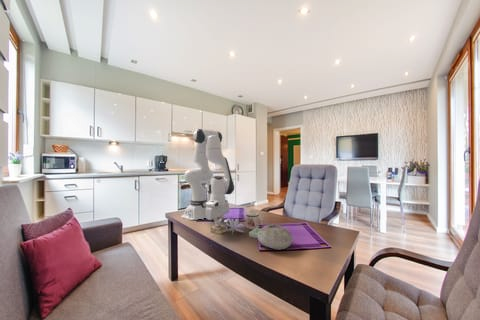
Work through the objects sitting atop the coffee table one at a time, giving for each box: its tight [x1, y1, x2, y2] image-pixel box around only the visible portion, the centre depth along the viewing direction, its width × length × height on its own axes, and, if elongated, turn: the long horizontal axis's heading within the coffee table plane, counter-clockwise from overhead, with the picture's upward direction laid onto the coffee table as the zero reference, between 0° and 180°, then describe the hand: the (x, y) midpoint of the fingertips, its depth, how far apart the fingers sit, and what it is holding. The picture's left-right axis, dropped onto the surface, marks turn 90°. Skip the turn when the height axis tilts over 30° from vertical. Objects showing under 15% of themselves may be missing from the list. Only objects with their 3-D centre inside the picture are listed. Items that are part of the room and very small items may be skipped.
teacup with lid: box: [245, 209, 263, 230], centre depth 132 cm, size 12×9×12 cm
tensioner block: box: [210, 224, 227, 235], centre depth 125 cm, size 7×7×3 cm
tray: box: [248, 227, 261, 239], centre depth 117 cm, size 9×9×2 cm
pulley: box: [223, 218, 235, 229], centre depth 133 cm, size 7×7×5 cm
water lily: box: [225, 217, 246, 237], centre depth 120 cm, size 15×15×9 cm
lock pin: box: [217, 216, 221, 228], centre depth 125 cm, size 4×4×10 cm
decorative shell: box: [257, 223, 293, 251], centre depth 102 cm, size 18×18×10 cm
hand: (218, 223), depth 125 cm, fingers closed on lock pin, 2 cm apart
